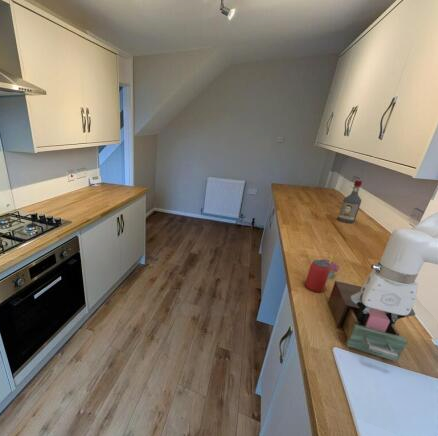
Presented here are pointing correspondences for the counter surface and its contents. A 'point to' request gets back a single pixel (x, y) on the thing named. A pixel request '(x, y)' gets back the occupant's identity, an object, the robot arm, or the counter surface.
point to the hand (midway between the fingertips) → (372, 324)
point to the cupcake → (332, 266)
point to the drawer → (372, 337)
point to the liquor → (350, 205)
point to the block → (377, 320)
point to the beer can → (317, 275)
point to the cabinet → (343, 301)
